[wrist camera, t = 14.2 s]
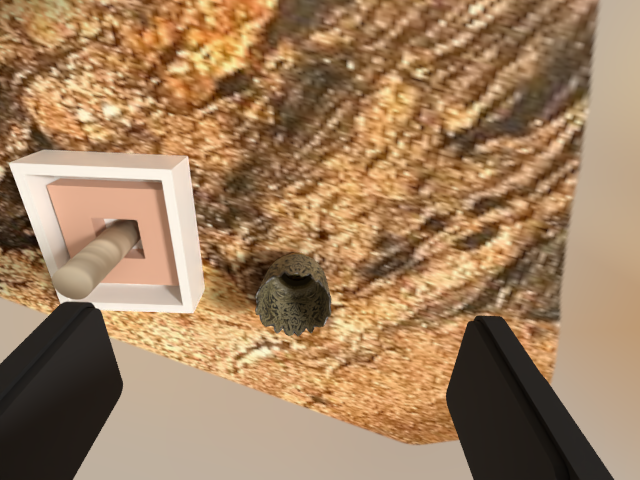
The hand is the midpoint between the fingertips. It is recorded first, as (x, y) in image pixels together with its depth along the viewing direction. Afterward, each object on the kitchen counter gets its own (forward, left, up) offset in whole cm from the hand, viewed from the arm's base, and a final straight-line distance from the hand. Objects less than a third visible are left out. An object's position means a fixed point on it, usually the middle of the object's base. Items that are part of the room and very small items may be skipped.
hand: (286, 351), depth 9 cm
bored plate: (+11, -19, -28) cm, 36 cm away
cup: (+15, -1, -28) cm, 32 cm away
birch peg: (+11, -19, -27) cm, 35 cm away
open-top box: (+11, -19, -28) cm, 36 cm away
